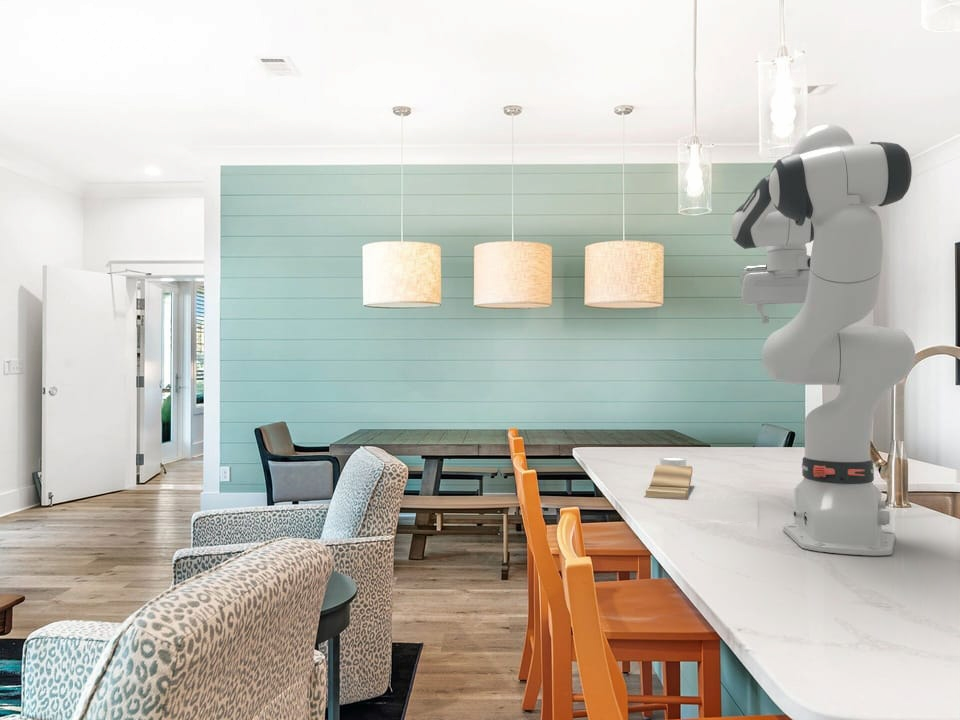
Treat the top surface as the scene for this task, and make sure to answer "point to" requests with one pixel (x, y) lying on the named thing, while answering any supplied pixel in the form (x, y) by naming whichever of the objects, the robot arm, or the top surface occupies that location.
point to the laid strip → (667, 492)
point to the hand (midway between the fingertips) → (787, 322)
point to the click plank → (672, 476)
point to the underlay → (687, 496)
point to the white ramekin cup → (673, 461)
